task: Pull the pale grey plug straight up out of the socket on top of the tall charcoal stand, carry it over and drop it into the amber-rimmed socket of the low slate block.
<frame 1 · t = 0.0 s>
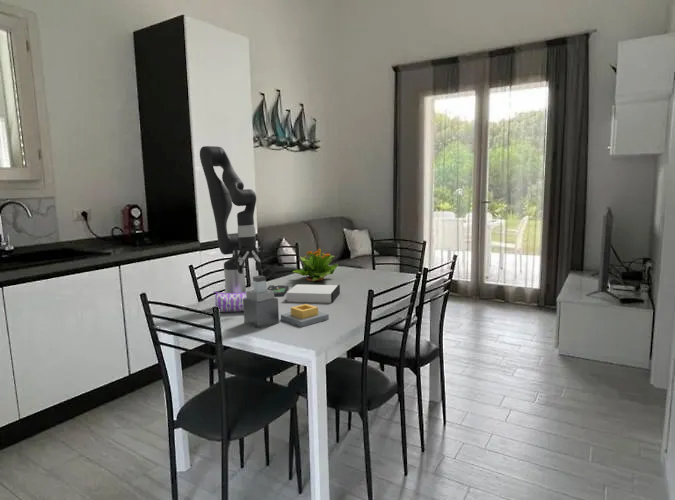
hand: (249, 271, 200), 17 cm above the table, tool pointing down, fingers open, 8 cm apart
pencil case: (240, 311, 202), on the table
potted flower: (314, 279, 263), on the table
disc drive: (314, 298, 221), on the table
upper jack: (261, 322, 183), on the table
disk drive: (276, 293, 233), on the table
plug: (260, 298, 182), point 10 cm above the table, touching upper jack
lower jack: (304, 319, 186), on the table
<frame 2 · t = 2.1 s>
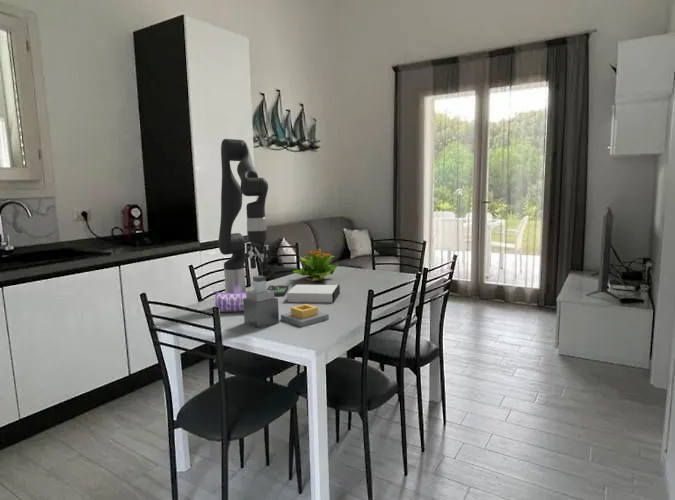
hand: (259, 269, 180), 22 cm above the table, tool pointing down, fingers open, 8 cm apart
nothing on the table moved.
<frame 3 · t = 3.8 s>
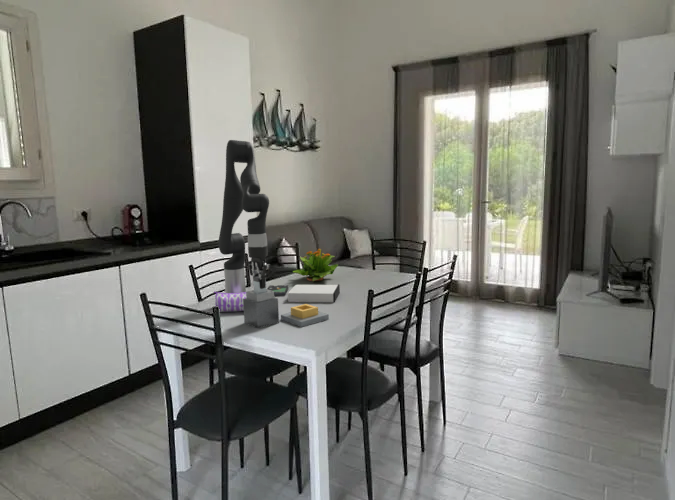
hand: (259, 287, 181), 15 cm above the table, tool pointing down, fingers closed on plug, 3 cm apart
plug: (260, 298, 182), point 10 cm above the table, touching gripper, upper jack
everything else where it was.
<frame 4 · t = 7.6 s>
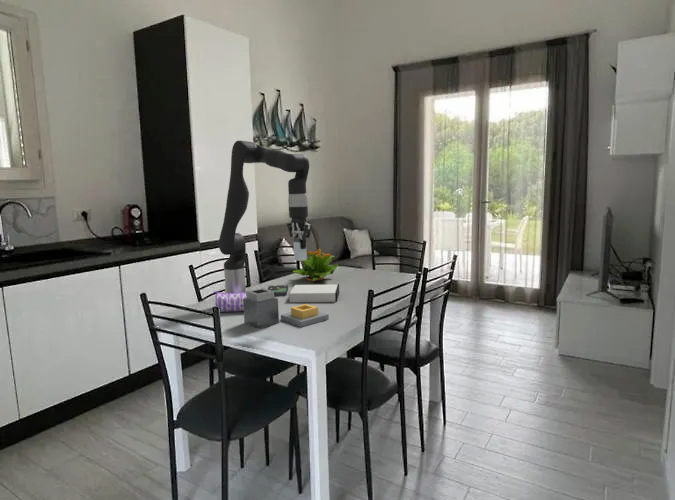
hand: (300, 248, 182), 30 cm above the table, tool pointing down, fingers closed on plug, 3 cm apart
plug: (300, 259, 182), point 25 cm above the table, touching gripper
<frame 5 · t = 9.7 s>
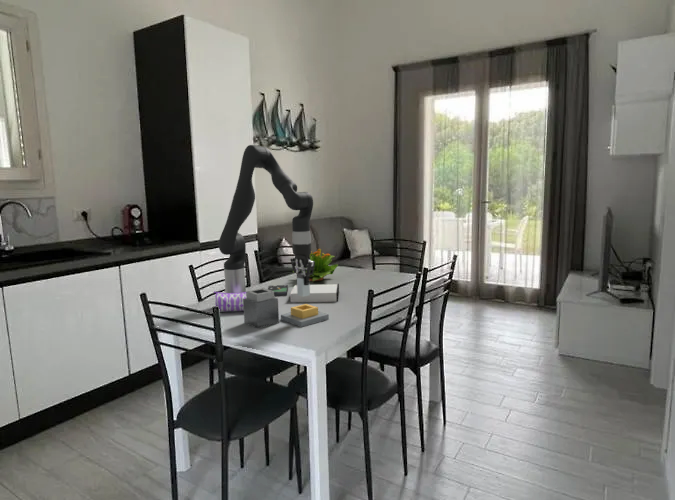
hand: (303, 283, 184), 15 cm above the table, tool pointing down, fingers closed on plug, 3 cm apart
plug: (303, 295, 185), point 10 cm above the table, touching gripper
when the fingers open (8 cm above the table, at t = 11.4 s): plug drops 1 cm, resting on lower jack.
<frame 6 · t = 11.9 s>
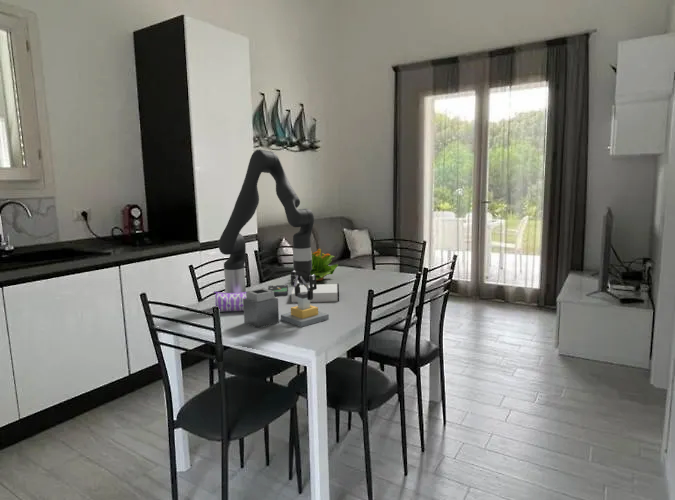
hand: (303, 297, 185), 9 cm above the table, tool pointing down, fingers open, 8 cm apart
plug: (304, 314, 186), point 2 cm above the table, touching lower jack
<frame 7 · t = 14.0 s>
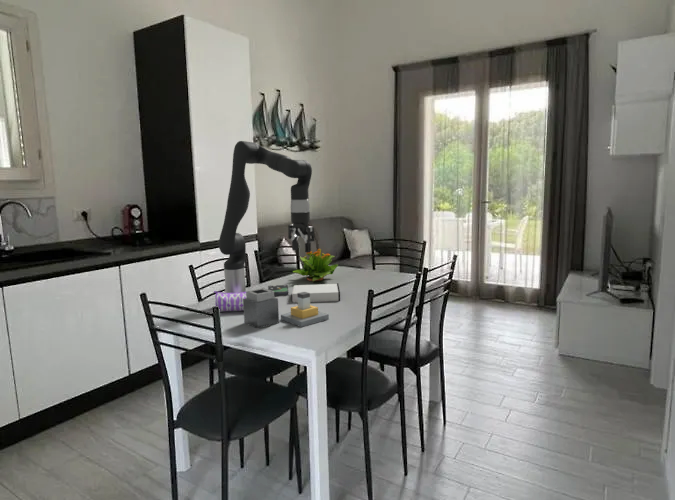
hand: (301, 251, 183), 28 cm above the table, tool pointing down, fingers open, 8 cm apart
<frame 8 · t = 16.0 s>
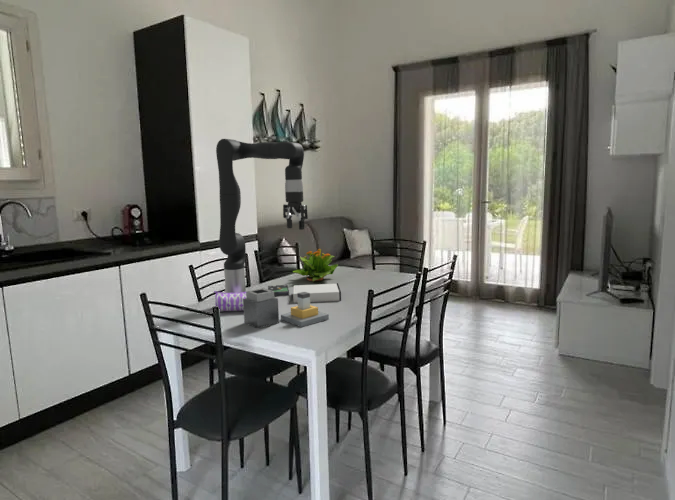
hand: (295, 228, 194), 36 cm above the table, tool pointing down, fingers open, 8 cm apart
at the end: plug 0.1 cm off-centre on the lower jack, point 2.0 cm above the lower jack's base; plug tilted 0°; the gripper is holding nothing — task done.
